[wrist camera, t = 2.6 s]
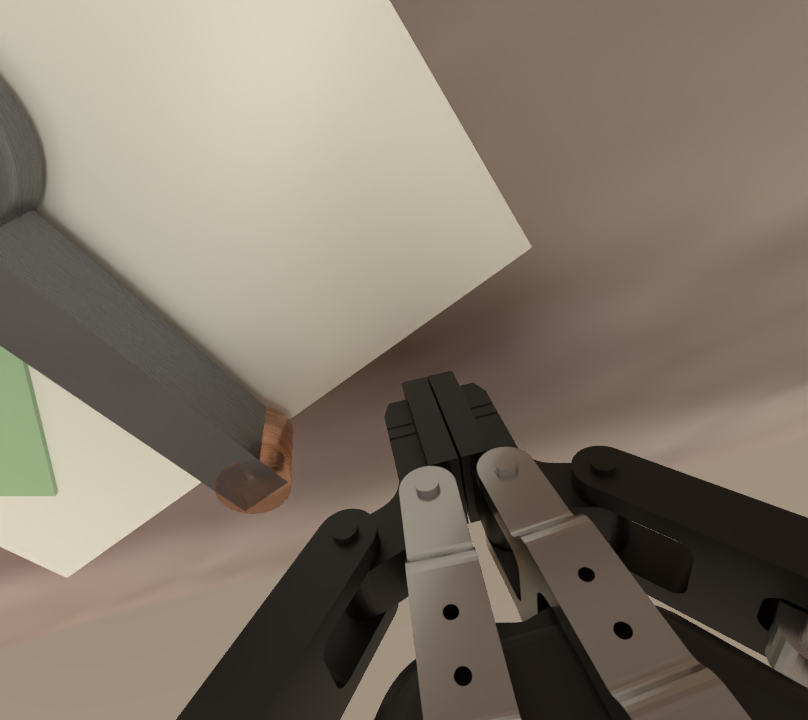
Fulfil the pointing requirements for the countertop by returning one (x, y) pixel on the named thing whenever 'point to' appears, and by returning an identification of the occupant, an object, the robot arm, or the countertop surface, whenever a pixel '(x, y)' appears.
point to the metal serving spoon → (125, 347)
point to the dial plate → (231, 219)
